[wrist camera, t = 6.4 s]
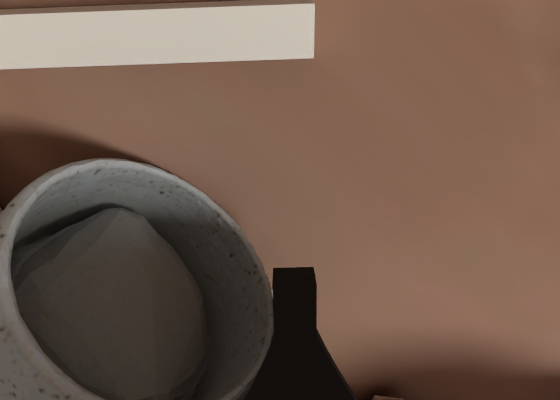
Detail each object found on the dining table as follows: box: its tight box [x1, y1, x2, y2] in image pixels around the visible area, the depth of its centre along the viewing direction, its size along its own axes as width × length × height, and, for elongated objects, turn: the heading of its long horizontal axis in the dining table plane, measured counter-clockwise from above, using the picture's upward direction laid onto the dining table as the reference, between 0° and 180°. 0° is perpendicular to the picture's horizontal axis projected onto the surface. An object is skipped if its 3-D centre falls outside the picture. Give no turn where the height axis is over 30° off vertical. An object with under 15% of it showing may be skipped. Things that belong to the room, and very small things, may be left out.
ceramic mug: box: [0, 158, 275, 400], centre depth 12 cm, size 11×8×8 cm
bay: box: [0, 0, 315, 214], centre depth 13 cm, size 12×16×2 cm
